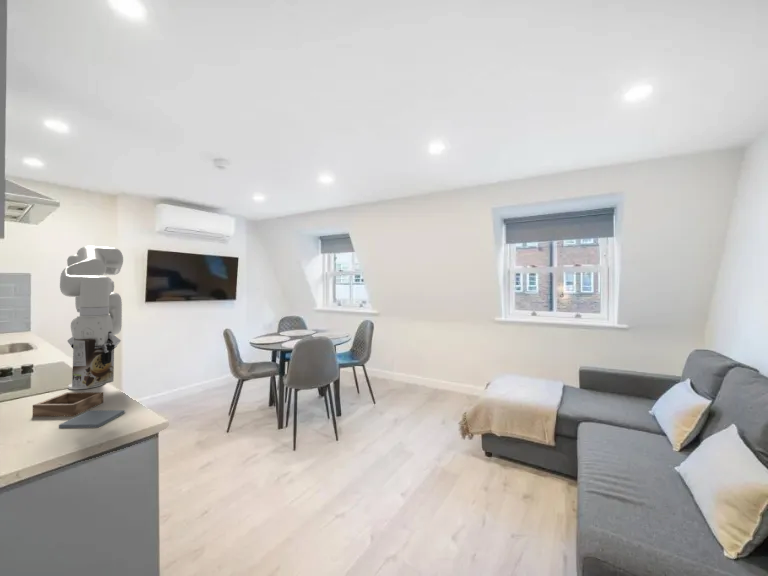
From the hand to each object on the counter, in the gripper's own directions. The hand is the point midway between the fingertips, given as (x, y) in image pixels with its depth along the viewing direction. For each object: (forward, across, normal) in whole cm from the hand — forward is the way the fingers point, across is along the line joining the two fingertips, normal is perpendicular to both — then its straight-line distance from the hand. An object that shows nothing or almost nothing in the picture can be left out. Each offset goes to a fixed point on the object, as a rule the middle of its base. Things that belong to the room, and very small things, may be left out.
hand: (94, 363), depth 112 cm
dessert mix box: (+8, 0, 0) cm, 8 cm away
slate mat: (+20, 0, 0) cm, 20 cm away
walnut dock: (+20, -16, +10) cm, 27 cm away
